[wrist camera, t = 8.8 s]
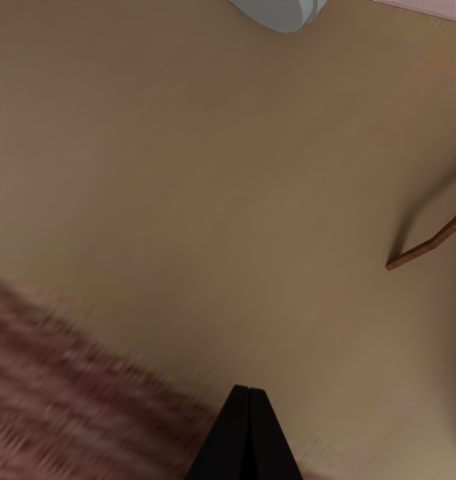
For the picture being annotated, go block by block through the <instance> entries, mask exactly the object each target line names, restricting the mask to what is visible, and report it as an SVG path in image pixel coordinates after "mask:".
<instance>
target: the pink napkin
mask: <svg viewBox="0 0 456 480" xmlns="http://www.w3.org/2000/svg"><path fill="white" fill-rule="evenodd" d="M373 1H377V2H381V3H385V4H389V5H393V6H397V7H401V8H405V9H409V10H413V11H417V12H421V13H425V14H429V15H433V16H438V17H442V18H446V19H450V20H454V21H456V0H373Z"/></svg>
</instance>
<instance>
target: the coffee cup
mask: <svg viewBox="0 0 456 480" xmlns="http://www.w3.org/2000/svg"><path fill="white" fill-rule="evenodd" d="M230 1H231V2H232V3H233V4H234V5H235V6H236V7H237V8H238V9H240V10H241V11H242V12H243V13H245V14H246V15H247V16H249V17H250V18H251V19H253V20H254V21H256V22H258V23H259V24H261V25H263V26H265V27H267V28H269V29H271V30H274V31H277V32H281V33H294V32H295V31H297V30H299V29H300V28H301V26H302V25H306V24H308V23H310V22H312V21H313V20H314V18H315V17H316V15H317V14H318V13H319V11H320V10H321V9H322V7H323V6H324V5H325V3H326V2H327V0H230Z"/></svg>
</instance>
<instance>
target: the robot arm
mask: <svg viewBox="0 0 456 480" xmlns="http://www.w3.org/2000/svg"><path fill="white" fill-rule="evenodd" d="M184 480H303V477H302V475H301V473H300V470H299V468H298V466H297V464H296V461H295V459H294V457H293V454H292V452H291V450H290V447H289V445H288V443H287V440H286V438H285V436H284V433H283V431H282V429H281V427H280V424H279V422H278V420H277V417H276V415H275V413H274V410H273V408H272V406H271V403H270V401H269V399H268V396H267V394H266V392H265V391H264V390H263V389H259V388H254V387H251V388H250V389H249V388H248V387H247V386H243V385H237V384H236V385H234V386H233V388H232V390H231V392H230V394H229V396H228V398H227V399H226V401H225V403H224V405H223V407H222V409H221V411H220V413H219V414H218V416H217V418H216V420H215V422H214V424H213V426H212V428H211V429H210V431H209V433H208V435H207V437H206V439H205V441H204V443H203V444H202V446H201V448H200V450H199V452H198V454H197V456H196V458H195V459H194V461H193V463H192V465H191V467H190V469H189V471H188V473H187V474H186V476H185V478H184Z"/></svg>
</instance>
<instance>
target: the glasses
mask: <svg viewBox="0 0 456 480" xmlns="http://www.w3.org/2000/svg"><path fill="white" fill-rule="evenodd" d="M455 231H456V216H455V217H454V218H453V219H452V220H451V221H450V222H449V223H448V224H447V225H446V226H444V227H443V228H442V229H441V230H440V231H439V232H438V233H437V234H436V235H435V236H434V237H433V238H432V239H430V240H428V241H426V242H424V243H422V244H420V245H418V246H416V247H414V248H413V249H411V250H409V251H407V252H405V253H403V254H401V255H399V256H397V257H395V258H394V259H393V260H392V261H391V262H390V263H389V264H388V265H387V266H386V269H387V270H388V271H390V270H392V269H394V268H396V267H398V266H400V265H402V264H404V263H406V262H408V261H410V260H412V259H414V258H416V257H418V256H420V255H422V254H424V253H426V252H428V251H430V250H432V249H434V248H436V247H437V246H438V245H440V244H441V243H442V242H443V241H444V240H445V239H447V238H448V237H449V236H450V235H451V234H453V233H454V232H455Z"/></svg>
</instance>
